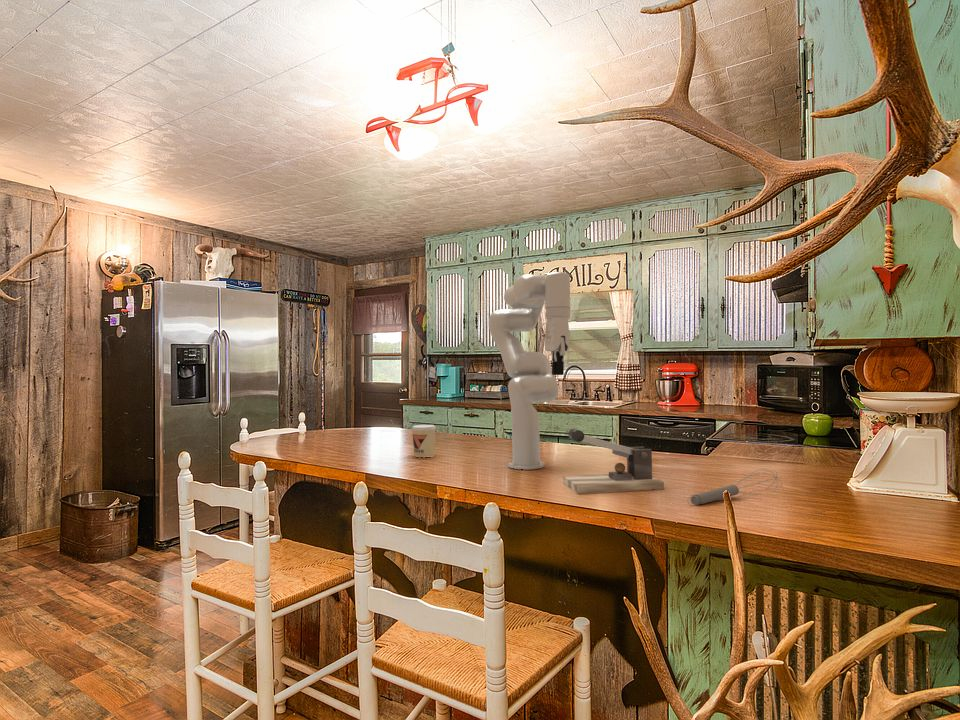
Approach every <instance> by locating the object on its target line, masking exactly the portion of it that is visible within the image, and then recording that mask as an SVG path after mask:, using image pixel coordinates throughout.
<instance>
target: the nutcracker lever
mask: <svg viewBox="0 0 960 720" xmlns="http://www.w3.org/2000/svg"><path fill="white" fill-rule="evenodd" d="M567 435H568V438H569V439H570V440H572V441H575V442H577V443H580V442H583V443H584V444H585V443H586V444H590V445H593V446H597V447H600V448H605V449H608V450H611V451H612V452H611V454H613V455H615V456H619V457H623V458H626V459H627V458H629V454H630V455H633V450H639V449H633V448H629V447H630V446H625V445H621V444H618V443H614V442H610V441H607V440H603V439H599V438H596V437H592V436H588V435H585V433H584V432H583V431H582V430H579V429H577V428H571V429H569V431H568V433H567Z"/></svg>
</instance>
